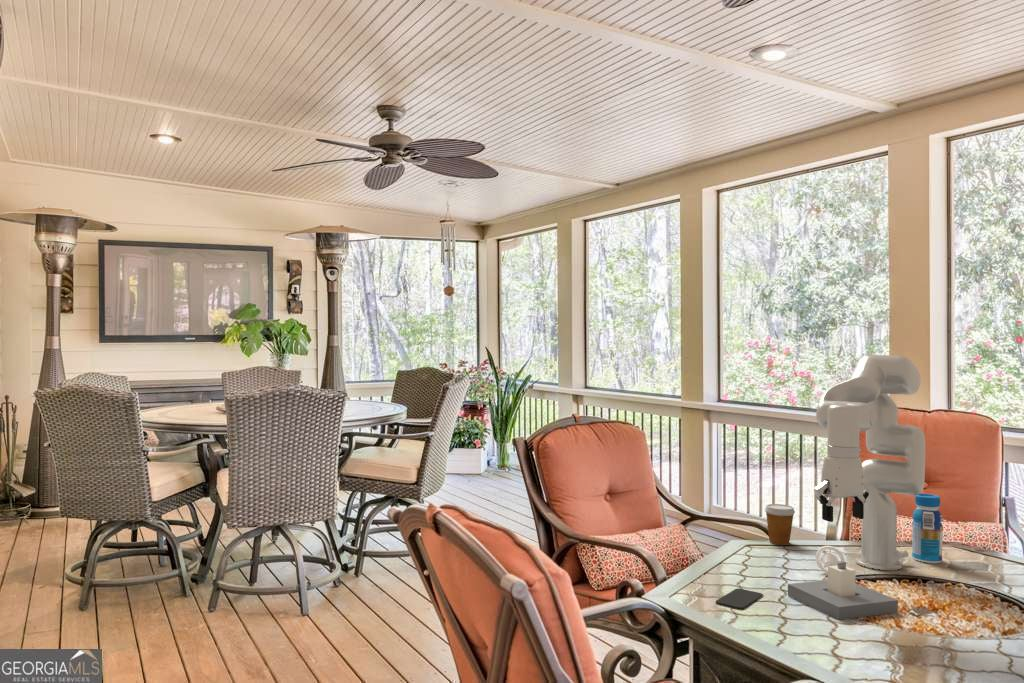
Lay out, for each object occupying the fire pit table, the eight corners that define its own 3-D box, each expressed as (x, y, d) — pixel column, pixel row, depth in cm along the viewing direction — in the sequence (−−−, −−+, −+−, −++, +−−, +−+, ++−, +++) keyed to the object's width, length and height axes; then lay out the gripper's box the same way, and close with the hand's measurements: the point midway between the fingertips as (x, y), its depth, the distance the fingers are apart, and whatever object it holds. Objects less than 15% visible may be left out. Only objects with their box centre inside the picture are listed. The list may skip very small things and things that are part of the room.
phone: (764, 593, 192) (742, 608, 181) (764, 597, 192) (742, 611, 181) (737, 587, 197) (713, 601, 185) (737, 590, 197) (713, 604, 185)
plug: (842, 600, 190) (842, 559, 190) (855, 606, 185) (855, 564, 185) (827, 601, 188) (828, 560, 188) (840, 607, 184) (840, 565, 184)
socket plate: (843, 589, 198) (843, 578, 198) (897, 612, 181) (897, 600, 181) (787, 595, 192) (787, 583, 192) (838, 619, 175) (838, 607, 175)
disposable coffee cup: (789, 547, 240) (790, 510, 240) (760, 542, 246) (760, 506, 246) (798, 542, 248) (798, 506, 248) (769, 537, 254) (770, 502, 254)
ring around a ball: (846, 575, 211) (846, 547, 211) (841, 579, 207) (841, 551, 207) (817, 569, 216) (817, 542, 216) (811, 574, 212) (811, 546, 212)
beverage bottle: (905, 558, 230) (906, 493, 231) (923, 555, 234) (924, 492, 234) (930, 565, 223) (931, 498, 223) (949, 562, 226) (949, 497, 227)
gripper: (858, 449, 196) (858, 513, 196) (805, 451, 190) (805, 518, 190) (881, 453, 189) (880, 520, 189) (826, 456, 183) (826, 525, 183)
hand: (842, 519), depth 189 cm, fingers open, 9 cm apart
